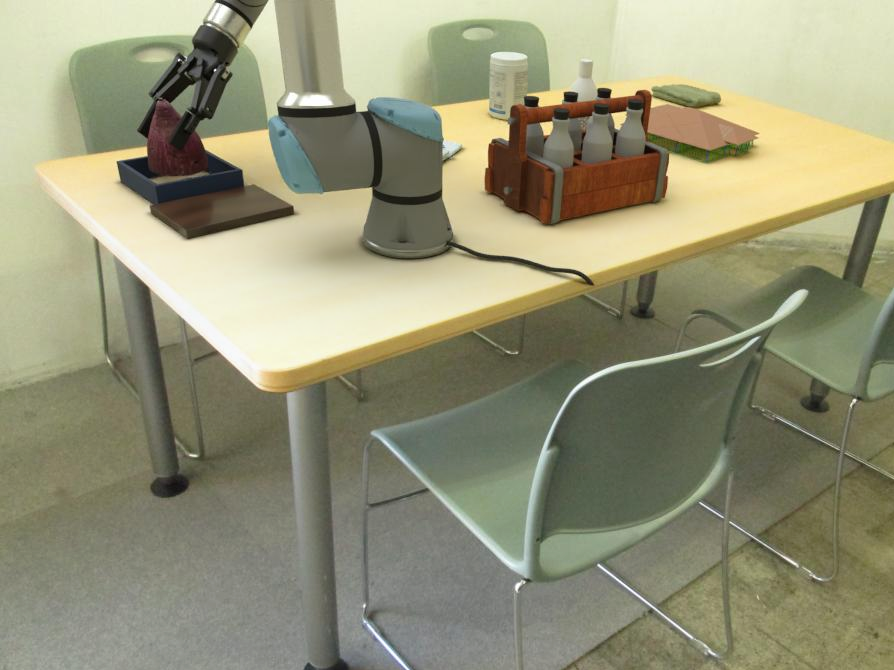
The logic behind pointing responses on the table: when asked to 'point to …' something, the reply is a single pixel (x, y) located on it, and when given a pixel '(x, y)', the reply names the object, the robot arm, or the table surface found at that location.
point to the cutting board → (221, 210)
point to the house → (697, 130)
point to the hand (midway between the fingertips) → (158, 141)
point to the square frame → (220, 179)
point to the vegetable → (165, 155)
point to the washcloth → (686, 95)
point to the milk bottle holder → (577, 157)
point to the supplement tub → (507, 82)
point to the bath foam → (585, 86)
